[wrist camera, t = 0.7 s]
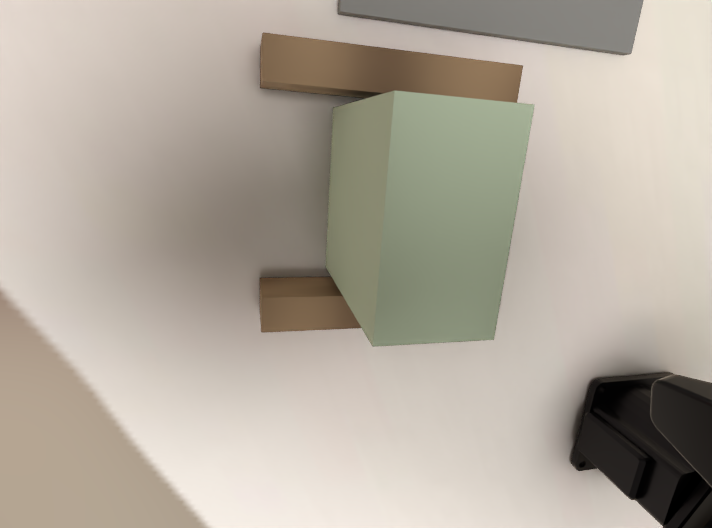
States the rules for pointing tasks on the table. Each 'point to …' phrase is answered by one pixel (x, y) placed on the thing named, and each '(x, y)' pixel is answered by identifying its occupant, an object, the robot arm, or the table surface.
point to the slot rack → (361, 79)
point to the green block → (424, 212)
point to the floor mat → (517, 19)
